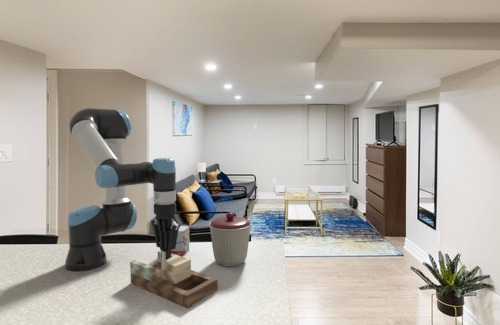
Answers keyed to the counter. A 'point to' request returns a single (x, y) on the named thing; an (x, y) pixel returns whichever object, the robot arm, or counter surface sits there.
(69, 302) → the counter surface
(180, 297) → the wooden compartment tray
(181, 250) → the ink box
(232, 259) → the canister
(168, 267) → the birch block
